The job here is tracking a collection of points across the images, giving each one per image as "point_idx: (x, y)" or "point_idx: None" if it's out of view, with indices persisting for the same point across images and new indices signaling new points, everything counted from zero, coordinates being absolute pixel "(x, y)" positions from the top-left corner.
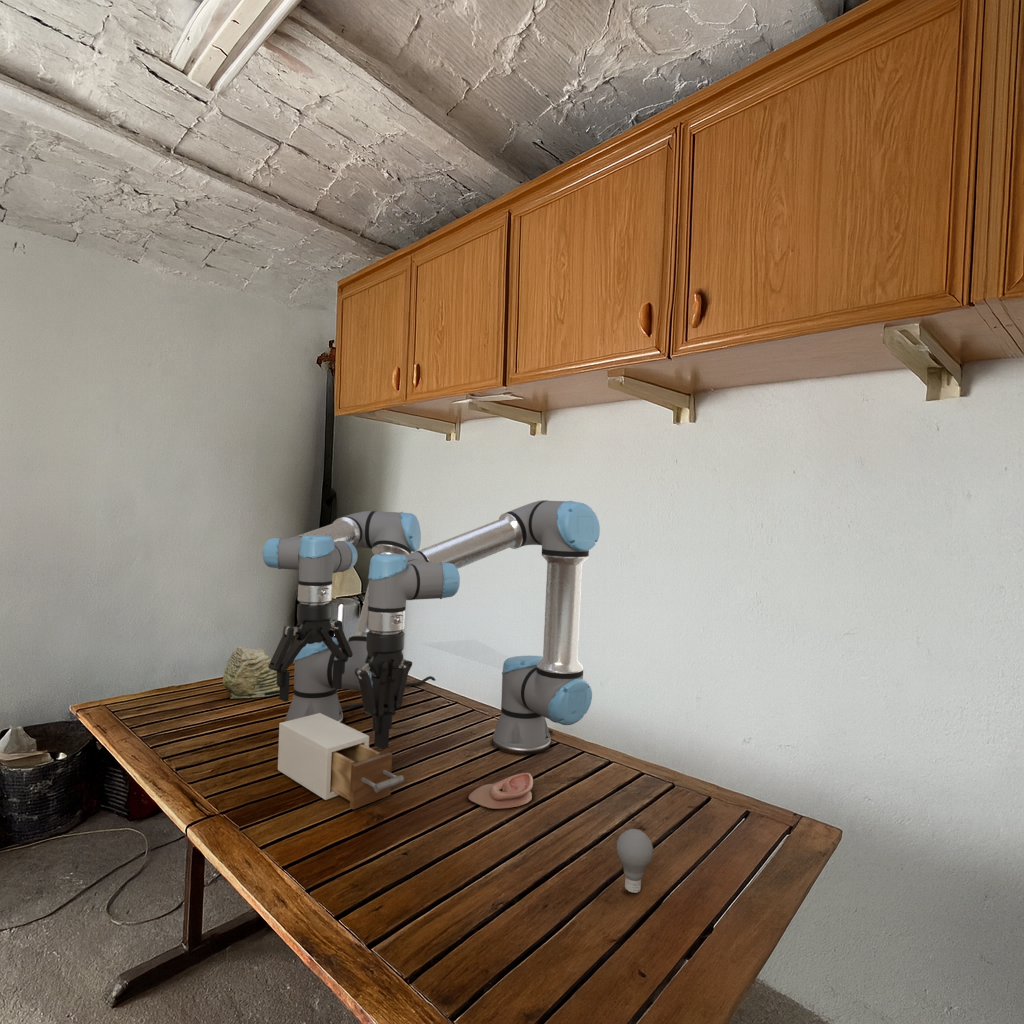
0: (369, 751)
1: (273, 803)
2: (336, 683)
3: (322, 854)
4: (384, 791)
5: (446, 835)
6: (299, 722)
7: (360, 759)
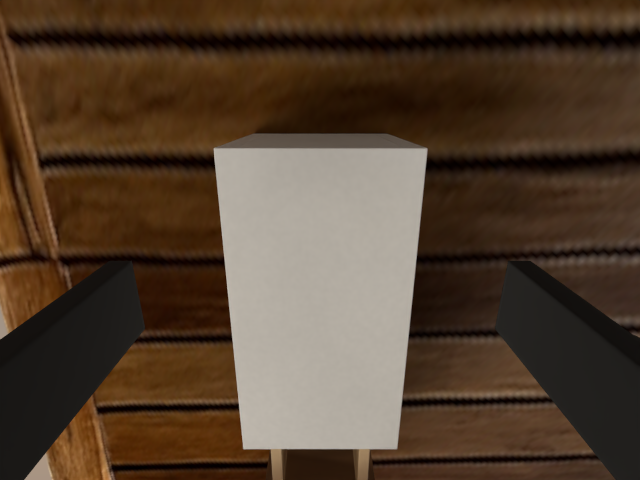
0: (357, 463)
1: (171, 293)
2: (518, 325)
3: (174, 474)
4: None
5: None
6: (287, 201)
7: None
